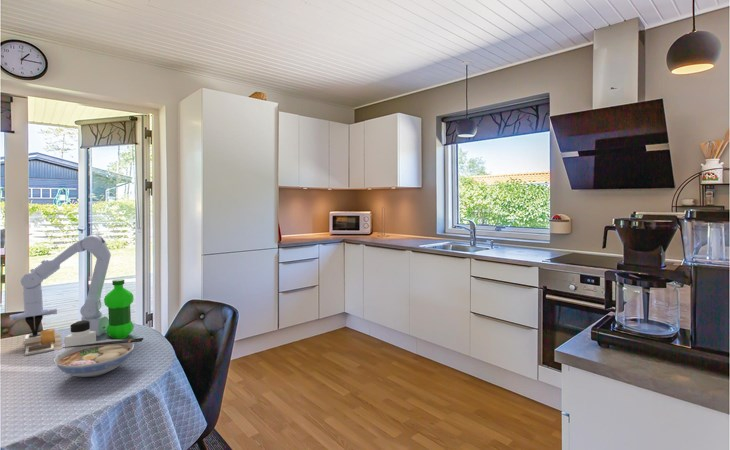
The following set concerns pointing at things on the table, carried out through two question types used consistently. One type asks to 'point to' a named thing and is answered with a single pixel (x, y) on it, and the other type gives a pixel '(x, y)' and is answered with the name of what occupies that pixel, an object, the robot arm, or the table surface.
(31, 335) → the button
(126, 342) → the ramen bowl
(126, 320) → the plastic bottle
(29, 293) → the robot arm
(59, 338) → the tan flat plate
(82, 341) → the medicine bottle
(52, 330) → the cap
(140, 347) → the table surface
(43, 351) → the grey square frame
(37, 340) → the frame
